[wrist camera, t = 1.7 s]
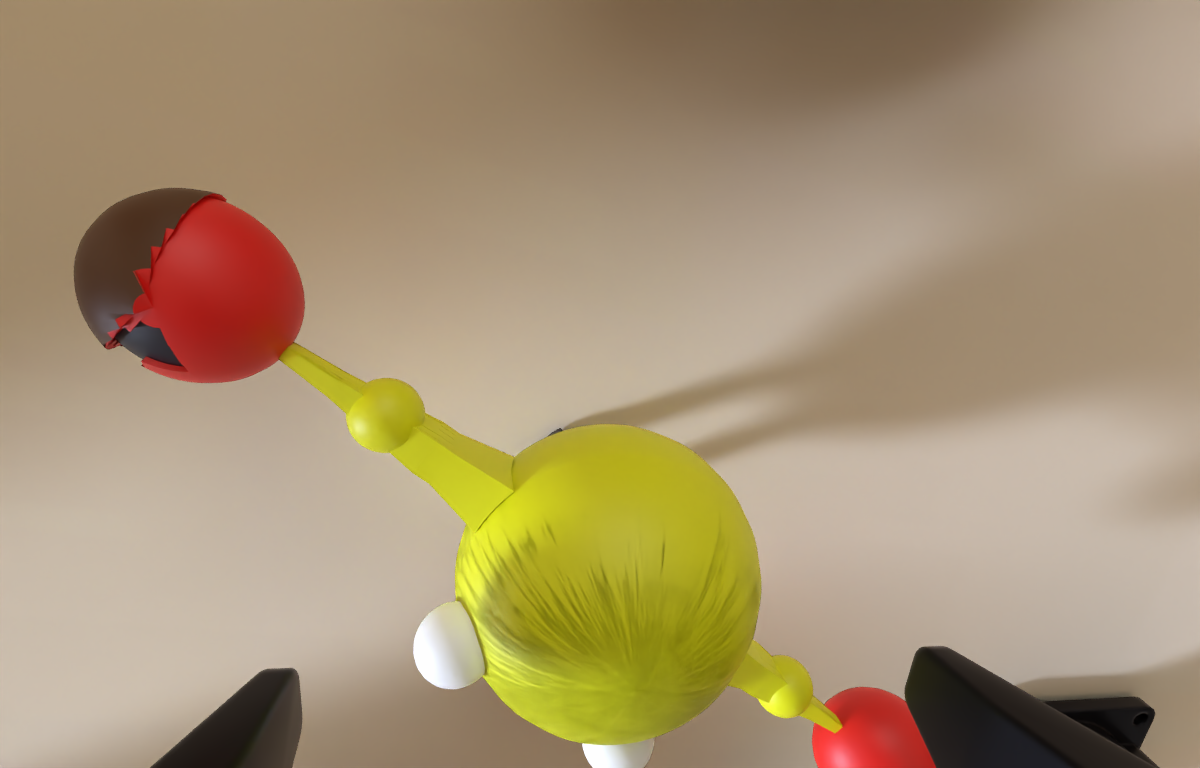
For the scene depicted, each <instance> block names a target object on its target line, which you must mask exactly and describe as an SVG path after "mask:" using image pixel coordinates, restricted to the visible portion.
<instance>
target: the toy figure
mask: <svg viewBox="0 0 1200 768" xmlns="http://www.w3.org/2000/svg"><path fill="white" fill-rule="evenodd" d="M226 200H227V199H226V198H224V197H223V196H222V195H220V194H216V193H212V192H207V191H201V190H195V189H186V188H166V189H158V190H152V191H148V192H144V193H141V194H138V195H134V196H131V197H129V198H126V199H124V200H122V201H120V202H118V203H116V204H114V205H113V206H111V207H110V208H108V209H107V210H106V211H105V212H103V213H102V214H101V215H100V216H99V217H98V218H97V219H96V221H95V222H94V223H93V224H92V225H91V226H90V228H89V229H88V230H87V231H86V233H85V235H84V236H83V238H82V240H81V242H80V244H79V247H78V250H77V253H76V257H75V263H74V283H75V291H76V296H77V300H78V304H79V307H80V310H81V312H82V314H83V317H84V319H85V321H86V322H87V324H88V326H89V328H90V329H91V331H92V332H93V334H94V335H95V336H96V338H97V339H98V340H99V341H100V343H101V344H102V345H103V346H104V347H105V348H106V349H112V348H115V347H117V346H124V347H125V348H126V349H128V350H129V351H131V352H132V353H134V354H135V355H137V356H138V357H140V358H142V359H143V360H142V361H141V362H142V365H141V366H143V367H145V368H147V369H149V370H151V371H153V372H156V373H158V374H161V375H163V376H166V377H170V378H173V379H177V380H182V381H187V382H196V383H222V382H230V381H236V380H240V379H243V378H246V377H249V376H251V375H254V374H256V373H258V372H260V371H262V370H264V369H266V368H268V367H270V366H271V365H273V364H274V363H275V362H277V361H278V360H280V361H282V362H283V363H284V364H286V365H287V366H288V367H289V368H291V369H292V370H293V371H295V372H296V373H297V374H298V375H300V376H301V377H302V378H304V379H305V380H306V381H307V382H309V383H310V384H311V385H313V386H314V387H315V388H317V389H318V390H319V391H320V392H322V393H323V394H324V395H326V396H327V397H328V398H329V399H330V400H331V401H333V402H334V403H335V404H336V405H337V406H338V407H339V408H340V409H342V410H343V411H344V412H345V413H346V421H347V426H348V429H349V431H350V433H351V435H352V437H353V438H354V439H355V440H356V441H357V442H358V443H359V444H360V445H362V446H363V447H365V448H367V449H369V450H372V451H375V452H380V453H391V454H392V455H393V456H394V457H395V458H396V459H397V460H399V461H400V462H401V463H402V464H403V465H404V466H405V467H406V468H408V469H409V470H410V471H411V472H412V473H414V474H415V475H417V476H418V477H420V478H421V479H423V480H424V481H426V482H427V483H429V484H430V485H431V486H432V487H433V488H434V489H435V491H436V492H437V493H438V494H439V495H440V496H441V497H442V498H443V499H444V500H445V501H446V502H447V503H448V505H449V506H450V507H451V508H452V509H453V510H454V511H455V512H456V513H457V514H458V515H459V516H460V518H461V519H462V520H463V521H464V522H465V523H466V526H465V529H464V533H463V536H462V539H461V542H460V545H459V549H458V553H457V559H456V567H455V592H456V601H453V602H448V603H445V604H442V605H440V606H438V607H437V608H435V609H434V610H433V611H431V612H430V613H429V614H428V615H427V616H426V617H425V618H424V620H423V621H422V623H421V624H420V626H419V628H418V630H417V633H416V636H415V639H414V658H415V662H416V665H417V668H418V669H419V671H420V673H421V674H422V676H423V677H424V678H425V679H426V680H427V681H429V682H430V683H432V684H433V685H435V686H437V687H440V688H443V689H460V688H464V687H466V686H468V685H470V684H472V683H474V682H476V681H477V680H479V679H480V678H481V677H482V676H483V678H484V679H485V680H486V682H487V683H488V684H489V685H490V687H491V688H492V689H493V690H494V691H495V693H496V694H497V695H498V696H499V698H500V699H501V700H502V701H503V702H504V703H505V704H506V705H507V706H508V707H509V708H510V709H511V710H513V711H514V712H515V713H516V714H518V715H519V716H521V717H522V718H524V719H525V720H527V721H529V722H530V723H532V724H534V725H536V726H538V727H539V728H541V729H543V730H545V731H547V732H549V733H551V734H553V735H555V736H558V737H560V738H563V739H566V740H570V741H574V742H578V743H582V746H583V750H584V754H585V756H586V758H587V760H588V762H589V763H590V765H591V766H592V767H593V768H644V767H645V765H646V764H647V762H648V761H649V759H650V757H651V754H652V751H653V748H654V738H655V737H657V736H660V735H663V734H665V733H668V732H670V731H672V730H674V729H676V728H678V727H680V726H682V725H684V724H685V723H687V722H689V721H690V720H692V719H693V718H695V717H696V716H698V715H699V714H700V713H702V712H703V711H704V710H705V709H706V708H708V707H709V706H710V705H711V704H712V703H713V702H714V701H715V700H716V699H717V698H718V697H719V696H720V694H721V693H722V692H723V691H724V690H725V688H726V687H727V686H731V687H736V688H740V689H742V690H743V691H745V692H746V693H748V694H749V695H751V696H753V697H755V698H758V700H759V702H760V703H761V705H762V706H763V707H764V708H765V709H766V710H767V711H768V712H770V713H771V714H773V715H775V716H777V717H781V718H793V717H796V716H802V717H804V718H807V719H809V720H811V721H813V722H815V723H814V727H813V736H812V745H813V752H814V757H815V761H816V763H817V766H818V768H936V766H935V764H934V762H933V760H932V757H931V755H930V753H929V751H928V749H927V747H926V745H925V743H924V740H923V738H922V736H921V734H920V732H919V730H918V728H917V725H916V723H915V721H914V719H913V717H912V715H911V713H910V711H909V708H908V706H907V703H906V701H904V700H903V699H901V698H900V697H898V696H896V695H894V694H892V693H889V692H887V691H884V690H882V689H878V688H870V687H855V688H850V689H847V690H844V691H842V692H840V693H838V694H836V695H834V696H833V697H832V698H830V699H829V700H828V701H827V702H826V703H825V704H822V703H821V702H820V701H819V700H818V699H817V698H815V697H814V696H813V685H812V681H811V678H810V676H809V673H808V672H807V670H806V669H805V668H804V666H803V665H802V664H801V663H799V662H798V661H797V660H795V659H793V658H791V657H789V656H784V655H775V656H771V655H770V654H769V653H768V652H767V651H766V650H765V649H764V648H763V647H762V646H761V645H760V644H758V643H757V642H756V641H754V640H753V636H754V632H755V628H756V622H757V617H758V612H759V606H760V600H761V574H760V567H759V559H758V552H757V546H756V542H755V538H754V535H753V532H752V529H751V527H750V525H749V522H748V520H747V518H746V516H745V514H744V512H743V510H742V508H741V506H740V503H739V502H738V500H737V498H736V496H735V495H734V493H733V492H732V490H731V489H730V487H729V486H728V485H727V484H726V482H725V481H724V480H723V479H722V478H721V477H720V476H719V475H718V474H717V473H716V472H715V471H714V470H713V469H712V468H711V467H710V466H709V465H708V464H707V463H706V462H705V461H704V460H703V459H702V458H701V457H700V456H698V455H697V454H696V453H695V452H693V451H692V450H690V449H689V448H687V447H686V446H684V445H682V444H680V443H678V442H676V441H674V440H672V439H670V438H667V437H665V436H662V435H660V434H657V433H655V432H652V431H649V430H646V429H642V428H638V427H634V426H628V425H619V424H596V425H587V426H581V427H576V428H572V429H568V430H564V431H562V429H561V428H559V429H557V430H556V431H554V432H553V433H551V434H550V435H549V436H548V437H546V438H544V439H542V440H540V441H538V442H536V443H534V444H533V445H531V446H529V447H528V448H526V449H525V450H523V451H522V452H520V453H519V454H518V455H517V456H515V457H513V456H510V455H508V454H506V453H504V452H501V451H499V450H497V449H494V448H492V447H490V446H487V445H485V444H483V443H480V442H478V441H476V440H474V439H471V438H469V437H467V436H464V435H462V434H460V433H458V432H457V431H455V430H454V429H452V428H451V427H450V426H448V425H447V424H445V423H444V422H442V421H440V420H438V419H436V418H434V417H432V416H430V415H428V414H426V413H425V408H424V404H423V402H422V400H421V398H420V396H419V395H418V393H417V392H416V391H415V390H414V389H413V388H412V387H411V386H410V385H408V384H407V383H405V382H403V381H400V380H397V379H392V378H381V379H375V380H372V381H369V382H367V383H366V382H364V381H362V380H360V379H358V378H356V377H354V376H352V375H350V374H348V373H346V372H345V371H343V370H341V369H340V368H338V367H336V366H334V365H333V364H331V363H329V362H327V361H326V360H324V359H322V358H321V357H319V356H317V355H315V354H314V353H312V352H310V351H309V350H307V349H305V348H303V347H302V346H300V345H298V344H296V343H294V340H295V339H296V337H297V335H298V333H299V331H300V328H301V325H302V322H303V317H304V309H305V300H304V291H303V286H302V282H301V278H300V275H299V272H298V270H297V267H296V265H295V263H294V261H293V259H292V258H291V256H290V254H289V253H288V251H287V250H286V248H285V247H284V246H283V244H282V243H281V242H280V241H279V240H278V239H277V237H276V236H275V235H274V234H273V233H272V232H271V231H269V230H268V229H267V228H266V227H265V226H264V225H263V224H262V223H260V222H259V221H258V220H256V219H255V218H254V217H252V216H251V215H249V214H248V213H246V212H244V211H243V210H241V209H239V208H237V207H235V206H233V205H231V204H229V203H227V202H226ZM292 343H293V344H292Z"/></svg>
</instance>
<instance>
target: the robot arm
mask: <svg viewBox="0 0 1200 768" xmlns="http://www.w3.org/2000/svg"><path fill="white" fill-rule="evenodd" d="M905 699H906V703H907V706H908V708H909V711H910V713H911V715H912V717H913V719H914V721H915V723H916V725H917V728H918V730H919V732H920V734H921V736H922V738H923V740H924V743H925V745H926V747H927V749H928V751H929V753H930V755H931V757H932V760H933V762H934V764H935V766H936V768H1159V767H1158V766H1157V765H1156V764H1155V763H1154V762H1153V761H1152V760H1151V759H1150V758H1149V757H1147V756H1146V755H1145V754H1144V753H1143V752H1142V751H1141V750H1140V746H1141V744H1142V742H1143V740H1144V738H1145V736H1146V734H1147V732H1148V730H1149V728H1150V726H1151V724H1152V721H1153V719H1154V716H1155V711H1154V709H1152V708H1151V707H1150V706H1149V705H1148V704H1146V703H1145V702H1144V701H1143V700H1142V699H1140V698H1138V697H1124V698H1104V699H1085V700H1065V701H1046V702H1042V701H1040V700H1038V699H1037V698H1035V697H1033V696H1031V695H1030V694H1028V693H1026V692H1025V691H1023V690H1021V689H1019V688H1018V687H1016V686H1014V685H1012V684H1011V683H1009V682H1007V681H1005V680H1004V679H1002V678H1000V677H999V676H997V675H995V674H993V673H992V672H990V671H988V670H986V669H985V668H983V667H981V666H980V665H978V664H976V663H974V662H973V661H971V660H969V659H967V658H966V657H964V656H962V655H960V654H959V653H957V652H955V651H954V650H952V649H950V648H948V647H944V646H931V647H921V648H919V649H918V650H917V651H916V653H915V656H914V659H913V662H912V666H911V669H910V672H909V676H908V679H907V682H906V685H905ZM301 729H302V705H301V693H300V682H299V675H298V673H297V671H296V670H295V669H293V668H280V669H266V670H263V671H261V672H259V673H258V674H257V675H256V676H255V677H253V678H252V679H251V680H250V681H249V682H248V683H247V684H245V685H244V686H243V687H242V688H241V689H240V690H239V691H237V692H236V693H235V694H234V695H233V696H232V697H230V698H229V699H228V700H227V701H226V702H225V703H224V704H222V705H221V706H220V707H219V708H218V709H217V710H216V711H214V712H213V713H212V714H211V715H210V716H209V717H208V718H206V719H205V720H204V721H203V722H202V723H201V724H200V725H198V726H197V727H196V728H195V729H194V730H193V731H192V732H190V733H189V734H188V735H187V736H186V737H185V738H184V739H182V740H181V741H180V742H179V743H178V744H177V745H176V746H174V747H173V748H172V749H171V750H170V751H169V752H167V753H166V754H165V755H164V756H163V757H162V758H161V759H159V760H158V761H157V762H156V763H155V764H154V765H153V766H151V767H150V768H292V765H293V761H294V758H295V754H296V750H297V746H298V742H299V739H300V734H301Z"/></svg>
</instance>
